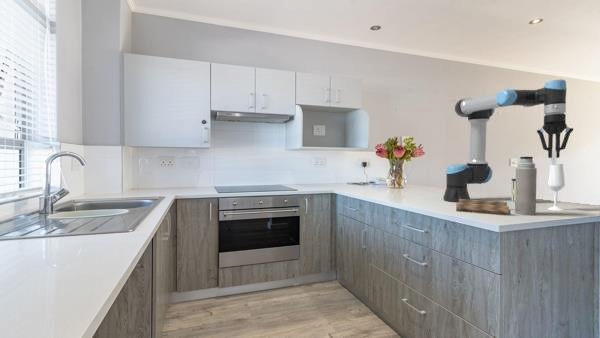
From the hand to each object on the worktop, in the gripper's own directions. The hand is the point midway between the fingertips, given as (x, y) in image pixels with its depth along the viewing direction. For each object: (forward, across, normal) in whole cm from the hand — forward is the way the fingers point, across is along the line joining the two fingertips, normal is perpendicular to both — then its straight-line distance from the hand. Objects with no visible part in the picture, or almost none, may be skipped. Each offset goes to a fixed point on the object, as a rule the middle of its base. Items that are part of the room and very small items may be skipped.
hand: (553, 164), depth 133 cm
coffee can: (+24, -8, +43) cm, 50 cm away
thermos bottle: (+24, -10, 0) cm, 26 cm away
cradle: (+24, -28, 0) cm, 37 cm away
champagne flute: (+24, +4, +21) cm, 32 cm away
